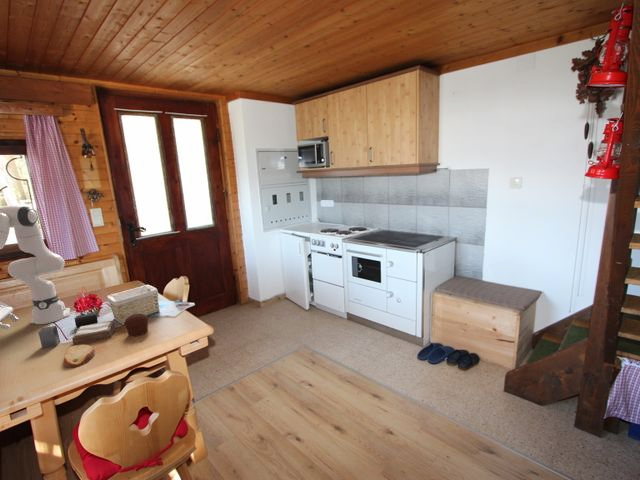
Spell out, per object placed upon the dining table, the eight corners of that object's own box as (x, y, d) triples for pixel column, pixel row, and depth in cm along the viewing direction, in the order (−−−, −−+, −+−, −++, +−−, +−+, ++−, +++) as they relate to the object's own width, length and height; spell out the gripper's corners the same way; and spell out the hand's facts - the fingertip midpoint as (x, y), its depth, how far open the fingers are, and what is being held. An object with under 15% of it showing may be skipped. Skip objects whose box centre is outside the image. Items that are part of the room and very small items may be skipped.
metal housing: (46, 344, 171) (41, 328, 169) (60, 341, 173) (56, 325, 171) (42, 349, 166) (38, 332, 164) (57, 346, 168) (53, 329, 166)
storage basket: (118, 326, 187) (113, 301, 184) (110, 318, 198) (105, 295, 195) (162, 311, 204) (158, 288, 201) (152, 305, 215) (148, 283, 212)
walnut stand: (80, 334, 180) (79, 326, 179) (114, 327, 186) (113, 319, 185) (73, 345, 167) (71, 337, 166) (110, 337, 173) (108, 329, 172)
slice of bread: (76, 347, 166) (74, 340, 165) (109, 347, 164) (107, 340, 163) (42, 368, 149) (40, 361, 148) (79, 368, 146) (77, 361, 146)
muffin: (122, 339, 171) (118, 321, 169) (130, 329, 182) (127, 312, 180) (146, 336, 173) (143, 318, 171) (153, 326, 183) (150, 309, 181)
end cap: (76, 330, 185) (74, 319, 183) (77, 326, 190) (74, 315, 189) (98, 325, 190) (96, 314, 189) (98, 321, 196) (95, 310, 194)
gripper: (-26, 311, 147) (8, 327, 153) (-3, 297, 166) (26, 311, 171) (-36, 323, 146) (-2, 338, 152) (-13, 307, 165) (17, 321, 171)
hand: (13, 324), depth 162 cm, fingers open, 8 cm apart
